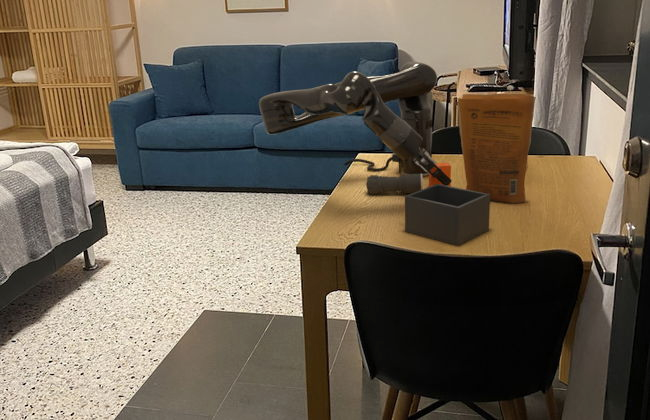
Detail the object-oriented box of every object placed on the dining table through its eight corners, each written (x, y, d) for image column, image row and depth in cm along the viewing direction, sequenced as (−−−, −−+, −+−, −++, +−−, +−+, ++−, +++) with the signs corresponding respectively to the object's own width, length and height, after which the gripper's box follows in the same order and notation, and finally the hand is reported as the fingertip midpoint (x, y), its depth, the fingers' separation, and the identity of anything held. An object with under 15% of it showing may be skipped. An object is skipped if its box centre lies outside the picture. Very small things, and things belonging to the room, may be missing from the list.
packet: (430, 208, 169) (431, 166, 165) (428, 204, 172) (428, 163, 168) (450, 207, 169) (450, 165, 166) (447, 203, 172) (448, 162, 169)
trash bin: (404, 231, 154) (404, 196, 151) (436, 217, 162) (437, 183, 159) (458, 245, 144) (458, 208, 141) (489, 229, 152) (490, 194, 150)
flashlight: (366, 196, 181) (365, 177, 179) (367, 191, 186) (366, 172, 184) (422, 196, 179) (422, 176, 177) (422, 190, 184) (422, 171, 182)
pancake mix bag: (526, 207, 166) (531, 96, 157) (454, 198, 176) (456, 92, 167) (533, 200, 171) (539, 91, 163) (463, 191, 181) (465, 89, 173)
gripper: (385, 142, 172) (429, 182, 176) (393, 154, 158) (441, 198, 162) (405, 120, 170) (449, 161, 174) (415, 131, 157) (462, 176, 161)
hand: (445, 179), depth 168 cm, fingers open, 7 cm apart
